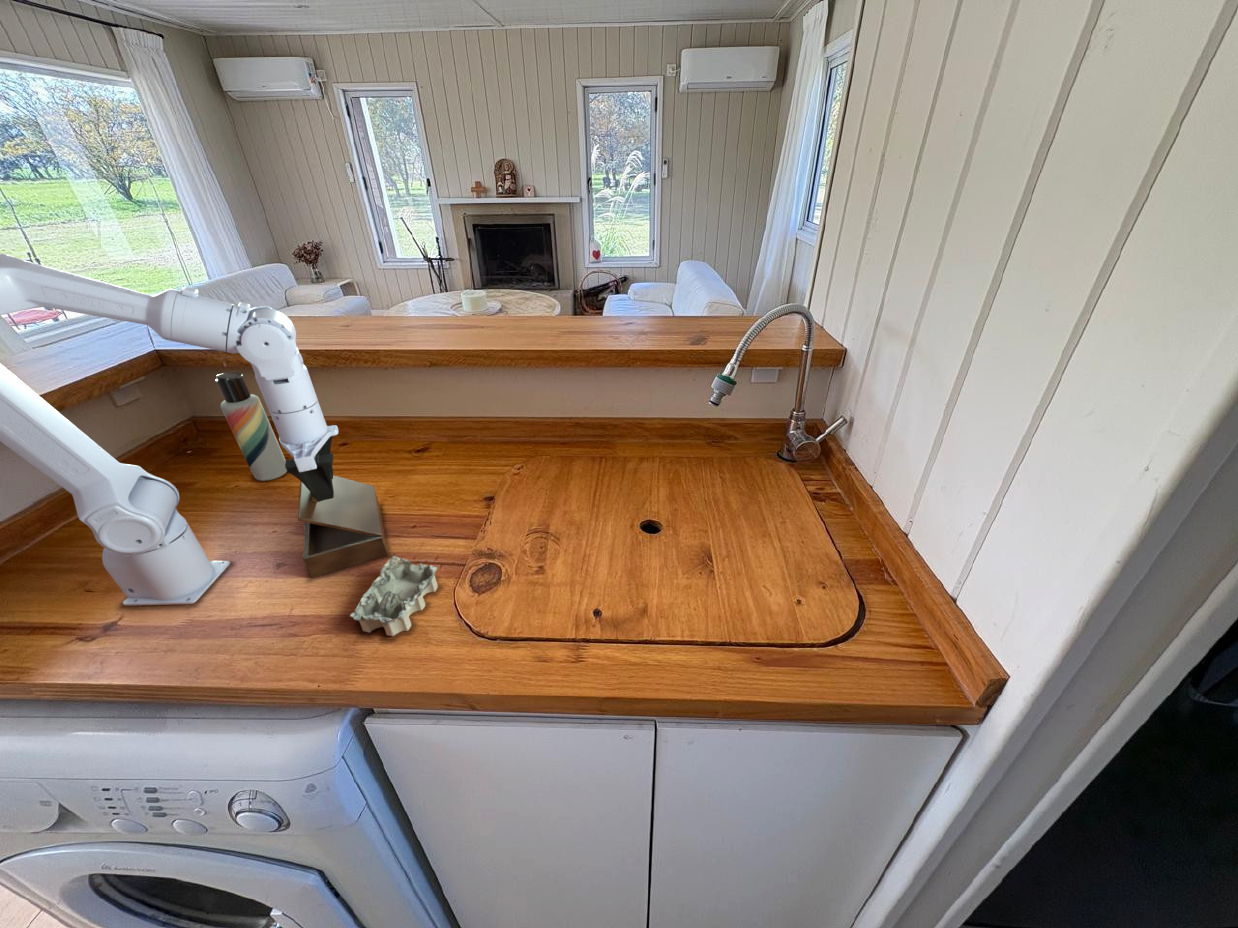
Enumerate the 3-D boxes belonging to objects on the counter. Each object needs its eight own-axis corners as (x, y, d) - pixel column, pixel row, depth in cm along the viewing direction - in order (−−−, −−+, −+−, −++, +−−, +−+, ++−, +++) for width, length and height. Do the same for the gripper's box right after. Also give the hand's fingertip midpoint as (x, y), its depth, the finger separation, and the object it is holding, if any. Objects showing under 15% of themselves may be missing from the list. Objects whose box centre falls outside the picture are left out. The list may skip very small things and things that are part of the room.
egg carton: (401, 572, 72) (394, 551, 70) (447, 581, 70) (442, 560, 68) (349, 630, 63) (340, 607, 61) (401, 642, 61) (393, 619, 59)
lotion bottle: (256, 469, 96) (210, 371, 85) (290, 462, 98) (249, 366, 87) (252, 484, 91) (203, 383, 81) (287, 477, 93) (244, 377, 83)
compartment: (311, 578, 71) (303, 559, 69) (313, 522, 82) (305, 505, 80) (387, 556, 75) (381, 537, 73) (379, 505, 86) (374, 488, 84)
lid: (297, 520, 66) (310, 493, 65) (301, 469, 77) (312, 445, 76) (380, 537, 73) (393, 512, 72) (373, 488, 84) (384, 466, 83)
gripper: (327, 420, 62) (358, 507, 69) (327, 380, 73) (353, 459, 80) (261, 432, 59) (300, 522, 66) (271, 389, 70) (303, 470, 77)
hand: (325, 488), depth 73 cm, fingers closed on lid, 5 cm apart
